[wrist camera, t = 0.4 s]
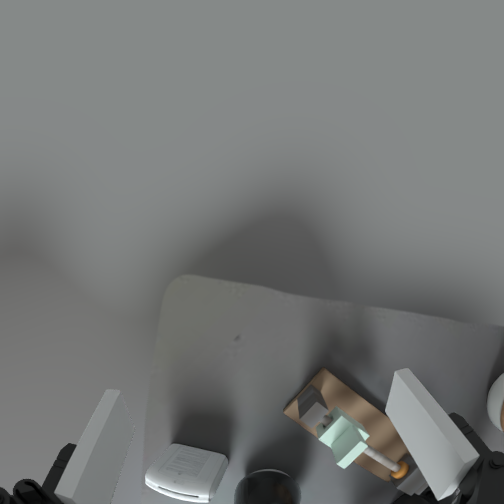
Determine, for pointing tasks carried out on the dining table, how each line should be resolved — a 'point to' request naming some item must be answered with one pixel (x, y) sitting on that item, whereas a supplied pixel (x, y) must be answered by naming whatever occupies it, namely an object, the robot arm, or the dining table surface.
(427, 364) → the dining table surface
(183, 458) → the photo printer
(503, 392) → the lidded bowl
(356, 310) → the dining table surface
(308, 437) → the dining table surface
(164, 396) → the dining table surface
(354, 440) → the pale green block
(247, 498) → the pump dispenser
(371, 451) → the rod stand
